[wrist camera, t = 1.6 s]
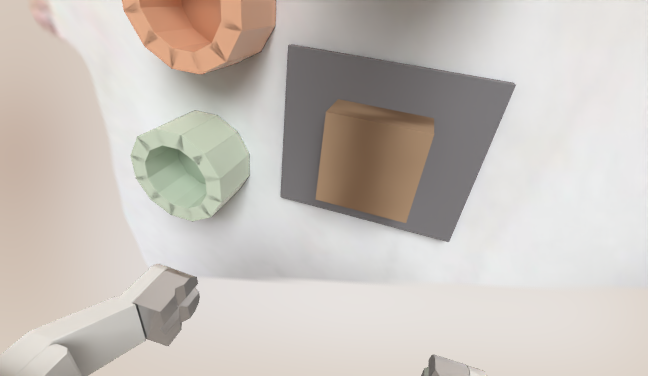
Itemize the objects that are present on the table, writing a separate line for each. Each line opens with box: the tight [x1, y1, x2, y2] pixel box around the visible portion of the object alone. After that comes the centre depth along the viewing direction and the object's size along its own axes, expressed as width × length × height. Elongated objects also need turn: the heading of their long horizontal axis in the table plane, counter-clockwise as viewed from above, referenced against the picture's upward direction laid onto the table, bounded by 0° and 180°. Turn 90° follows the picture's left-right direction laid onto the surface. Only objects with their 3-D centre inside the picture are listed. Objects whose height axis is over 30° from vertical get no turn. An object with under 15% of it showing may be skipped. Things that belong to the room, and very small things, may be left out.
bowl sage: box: [131, 110, 250, 222], centre depth 26 cm, size 8×8×4 cm
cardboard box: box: [316, 99, 434, 223], centre depth 22 cm, size 6×6×3 cm
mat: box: [281, 44, 516, 242], centre depth 23 cm, size 14×12×1 cm
